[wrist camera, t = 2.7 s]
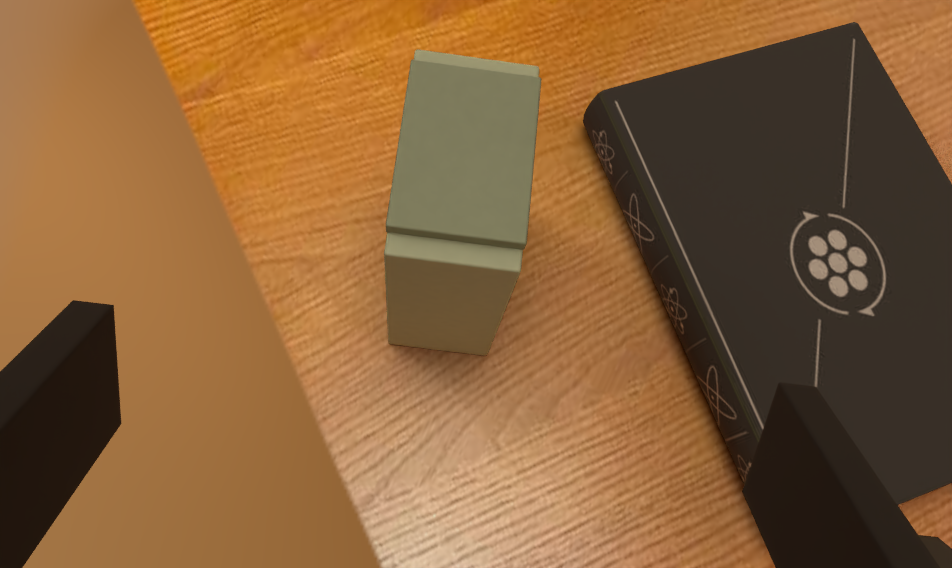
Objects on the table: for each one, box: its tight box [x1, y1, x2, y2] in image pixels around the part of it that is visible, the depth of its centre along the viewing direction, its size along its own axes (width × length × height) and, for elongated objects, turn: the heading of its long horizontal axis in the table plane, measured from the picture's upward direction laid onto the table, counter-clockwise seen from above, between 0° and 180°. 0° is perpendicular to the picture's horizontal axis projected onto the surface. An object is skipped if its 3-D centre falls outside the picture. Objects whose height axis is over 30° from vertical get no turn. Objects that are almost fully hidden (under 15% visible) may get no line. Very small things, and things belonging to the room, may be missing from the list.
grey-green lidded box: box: [384, 50, 541, 356], centre depth 33 cm, size 5×8×12 cm, turn 174°
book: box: [583, 22, 952, 505], centre depth 38 cm, size 22×15×3 cm
